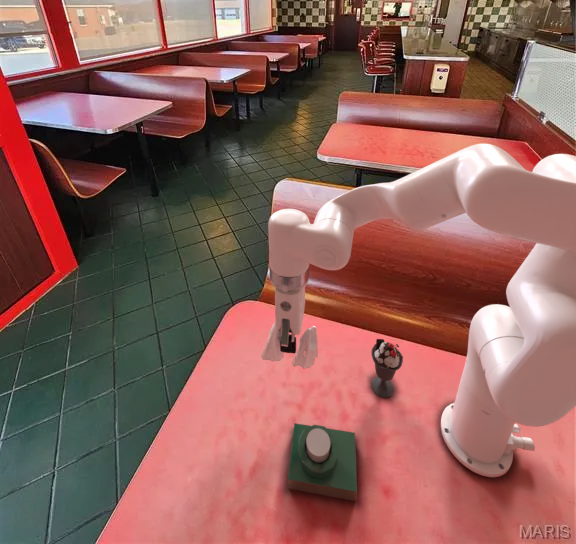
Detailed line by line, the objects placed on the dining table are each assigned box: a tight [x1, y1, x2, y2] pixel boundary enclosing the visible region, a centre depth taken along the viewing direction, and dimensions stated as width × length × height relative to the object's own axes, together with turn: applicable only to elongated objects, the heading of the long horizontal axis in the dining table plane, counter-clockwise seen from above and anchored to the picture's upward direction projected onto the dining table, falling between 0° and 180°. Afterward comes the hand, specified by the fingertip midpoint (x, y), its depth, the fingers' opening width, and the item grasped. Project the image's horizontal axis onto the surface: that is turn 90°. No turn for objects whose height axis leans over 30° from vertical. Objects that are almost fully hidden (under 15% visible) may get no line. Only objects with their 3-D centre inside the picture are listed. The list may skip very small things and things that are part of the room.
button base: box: [287, 422, 358, 502], centre depth 61 cm, size 12×9×5 cm
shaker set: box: [260, 322, 319, 370], centre depth 70 cm, size 12×4×11 cm, turn 84°
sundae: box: [370, 338, 404, 399], centre depth 73 cm, size 7×7×15 cm
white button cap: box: [306, 428, 330, 463], centre depth 60 cm, size 4×4×2 cm
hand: (289, 340), depth 69 cm, fingers closed on shaker set, 4 cm apart
